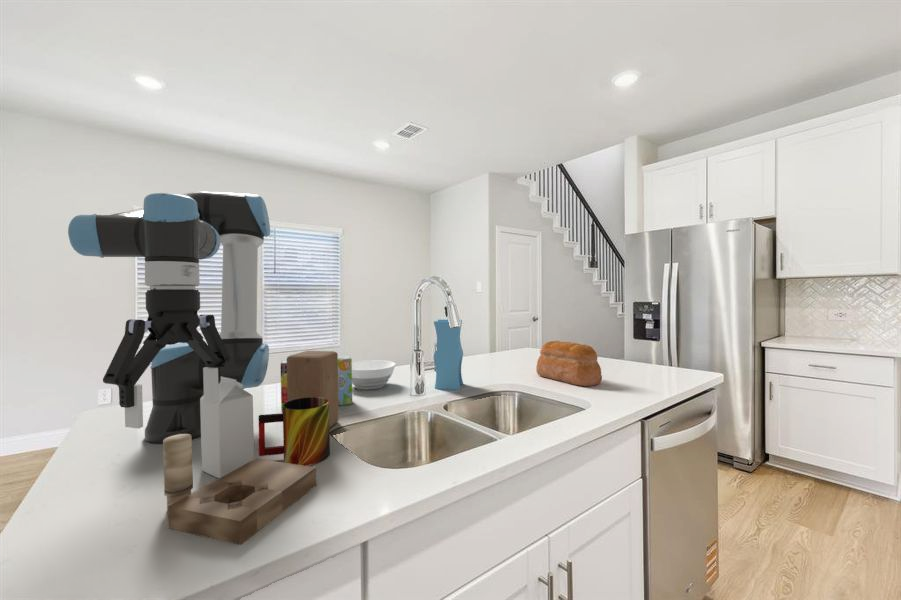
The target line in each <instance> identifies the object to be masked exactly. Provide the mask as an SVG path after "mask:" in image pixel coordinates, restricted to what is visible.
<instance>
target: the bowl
mask: <svg viewBox="0 0 901 600" xmlns="http://www.w3.org/2000/svg"><path fill="white" fill-rule="evenodd" d="M395 367H396V362H393V361H390V360H384V359H383V360H381V359H378V360H377V359H376V360H375V359H371V360H370V359H369V360H367V359H366V360H358V361H352V386H354V388H356V389H358V390H364V391H365V390H366V391H367V390H369V391H370V390H376V389H382V388H384V387H385V385H386V384H387V383H388V382H389V379H390V378H391V377H392V375H393V374H394V371H395Z"/></svg>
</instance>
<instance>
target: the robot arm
mask: <svg viewBox="0 0 901 600" xmlns="http://www.w3.org/2000/svg"><path fill="white" fill-rule="evenodd" d="M67 234H68V239H69V243H70V245H71V247H72V248H73V250H74V251H75V252H76V253H78V254H79V255H82V256H84V257H97V258H99V257H100V259H102V258H103V259H104V258H144V285H145V286H146V287H149V289H147V290H146V291H144V292H145V311H147V314H148V316H147V319H146V320H144V319H134V318H133V319H128V320H126V322H125V326H124V327H125V328H124V335H123V337H122V339H121V341H120V343H119V344H118V347H117V349H116V352H115V353H114V356H113V358H112V359H111V361H110V364H109V366H108V368H107V369H106V372H105V374H104V376H103V377H102V378H103V379H102V382H103V383H104V384H108V385H115V386H117V387H118V397H119V398H118V402H119V403H118V404H119V406H120V407H121V408H124V426H125V428H131V429H141V428H144V412H143V411H144V409H143V405H144V404H143V384H141V383H140V384H138V382H139V380H140V378H141V377H142V376H143V375H144V374H145V372H146V370H147V369H148V368H149V366H150V373H151V389H152V390H151V392H152V394H151V395H152V409H151V411H150V414H149V417H148V420H147V424H146V427H145V428H144V440H145V441H146V442H147V443H148V442H149V443H151V444H163V440H164V439H165V438H167V437H170V436H173V435H178V434H190V435H192V439H195V438H196V439H197V437H201V415H200V398H201V397H202V396H203V395H204V403H213V404H216V403H219V391H218V384H219V383H220V381H221V377H225V378H230V379H235V380H236V382H239V383H241V384H242V385H243V387H242V389H243V390H245V389H249V388H250V389H251V388H257V387H259V386H260V385H262V384H263V383H264V380H265V378H266V375H267V370H268V365H269V360H270V359H269V358H270V353H269V352H270V348H269V344H267V343H265V342H264V341H263V338H264V337H263V336H261V335H260V334H259V332H258V330H257V327H258V326H257V324H258V323H257V322H258V321H257V320H258V262H259V260H258V259H259V257H258V253H259V251H258V250H259V247H261V246H262V245H263V244H264V243H265V240H264V239H265V237H269V236H270V235H271V225H270V219H269V213H268V209H267V204H266V202H265V200H264V198H263V197H262V196H261V195H259V194H252V193H251V194H250V193H246V192H244V193H239V192H237V193H235V192H219V191H202V190H201V191H191V192H187V193H182V194H175V193H168V192H167V193H164V192H162V193H161V192H157V193H156V192H154V193H150V194H147V195H146V196H145V197H144V199H143V206H142V207H140V208H136V209H132V210H126V211H122V212H118V213H111V214H102V215H101V214H96V213H92V214H79V215H76V216H74V217H72V218H71V220H70V221H69V224H68V229H67ZM221 245H222V273H221V274H222V277H221V279H222V280H221V314H220V315H221V317H220V319H221V321H220V322H221V323H220V333H219V331H218V329H217V327H216V319H215V316H214V315H213V314H200V315H199V314H198V311H200V309H201V291H199V289H196V287H199V286H201V285H200V281H201V280H200V260H201V261H202V260H206V259H210V258H212V257H213V256H215V255H216V254H217V253H218V251H219V250H220V247H221ZM198 328H199V329H200V331H201V333H200V332H199V330H197V329H198ZM147 332H149V334H148V336H146V338H145V339H144V337H145V334H146V333H147ZM143 339H144V340H143ZM141 344H142V347H140V346H141Z"/></svg>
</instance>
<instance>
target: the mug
mask: <svg viewBox="0 0 901 600" xmlns="http://www.w3.org/2000/svg"><path fill="white" fill-rule="evenodd" d="M281 422H282V429H283V430H282V432H283V435H282V436H283V438H282V439H283V445H278V446H276V445H275V446H266V436H265V435H266V434H265V433H266V430H265V429H266V428H265V427H266V426H265V424H270V423H281ZM330 436H331V435H330V428H329V400H328V399H326V398H321V397H307V398H299V399H294V400H291V401H288V402H286V403H284V404H283V411H282V413H281V412H280V413H270V414H269V413H268V414H259V415H258V457H265V456H275V455H283V463H290V464H297V465H304V466H313V465H316V464H319V463H322V462H324V461H326V460H327V459H328V458H329V457H330V455H331V454H330V453H331V452H330V451H331V449H330V448H331V445H330V444H331V442H330V441H331V439H330Z"/></svg>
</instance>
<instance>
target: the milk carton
mask: <svg viewBox="0 0 901 600" xmlns="http://www.w3.org/2000/svg"><path fill="white" fill-rule="evenodd" d="M242 387H243V385H242V384H241V383H239V382H236V380H235V379H230V378H225V377H221V381H220V383H219V384H218V391H219V403H216V404H213V403H204V395H203V396H202V397H201V398H200V415H201V436H200V444H201V445H200V446H201V447H200V448H201V449H200V450H201V471H202V472H204V473H207V474H209V475H211V476H212V477H213V476H214V477H215V478H218V479H219V478H221V477H223V476H225V475H226V474H228V473H230V472H232V471H234V470H236V469H237V468H239V467H241V466H243V465H245V464H247V463H248V462H250V461H252V460H254V459H255V440H254V439H255V436H254V434H255V433H254V431H255V430H254V398H253V397H254V396H253V394H251V393H250V392H248V391H246V390H245V389H242Z"/></svg>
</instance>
